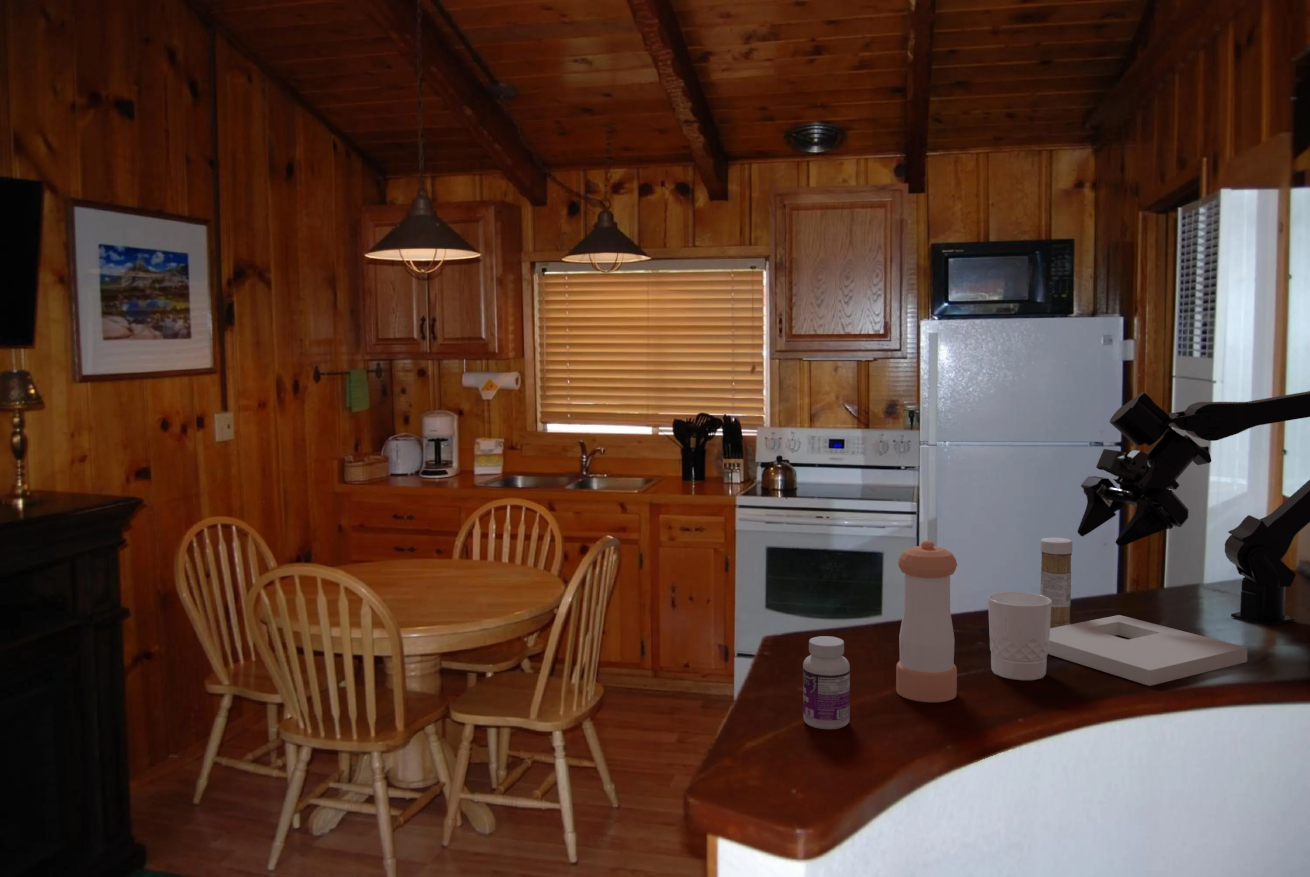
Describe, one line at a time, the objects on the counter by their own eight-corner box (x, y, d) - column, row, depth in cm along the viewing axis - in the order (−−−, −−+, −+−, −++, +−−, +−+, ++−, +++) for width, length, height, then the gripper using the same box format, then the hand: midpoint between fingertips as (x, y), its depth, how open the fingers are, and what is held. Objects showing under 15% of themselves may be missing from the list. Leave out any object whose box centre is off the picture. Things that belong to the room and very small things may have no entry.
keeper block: (1118, 627, 156) (1119, 614, 156) (1246, 661, 138) (1247, 647, 138) (1025, 646, 147) (1025, 633, 146) (1149, 685, 129) (1149, 670, 129)
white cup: (1049, 666, 137) (1050, 593, 137) (1051, 684, 130) (1053, 607, 129) (987, 661, 140) (988, 590, 139) (986, 679, 133) (987, 603, 132)
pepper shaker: (946, 706, 123) (948, 548, 121) (888, 696, 126) (889, 543, 125) (963, 689, 129) (965, 539, 127) (907, 680, 133) (908, 534, 131)
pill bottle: (798, 715, 120) (798, 634, 120) (842, 713, 121) (842, 633, 120) (809, 731, 115) (808, 648, 114) (855, 729, 115) (855, 646, 115)
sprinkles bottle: (1048, 619, 161) (1050, 535, 160) (1076, 625, 158) (1078, 539, 157) (1033, 624, 158) (1034, 539, 157) (1060, 630, 155) (1062, 543, 154)
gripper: (1092, 426, 167) (1031, 496, 166) (1174, 435, 149) (1105, 513, 148) (1133, 473, 170) (1073, 542, 168) (1218, 487, 152) (1151, 564, 150)
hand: (1098, 539), depth 158 cm, fingers open, 9 cm apart
